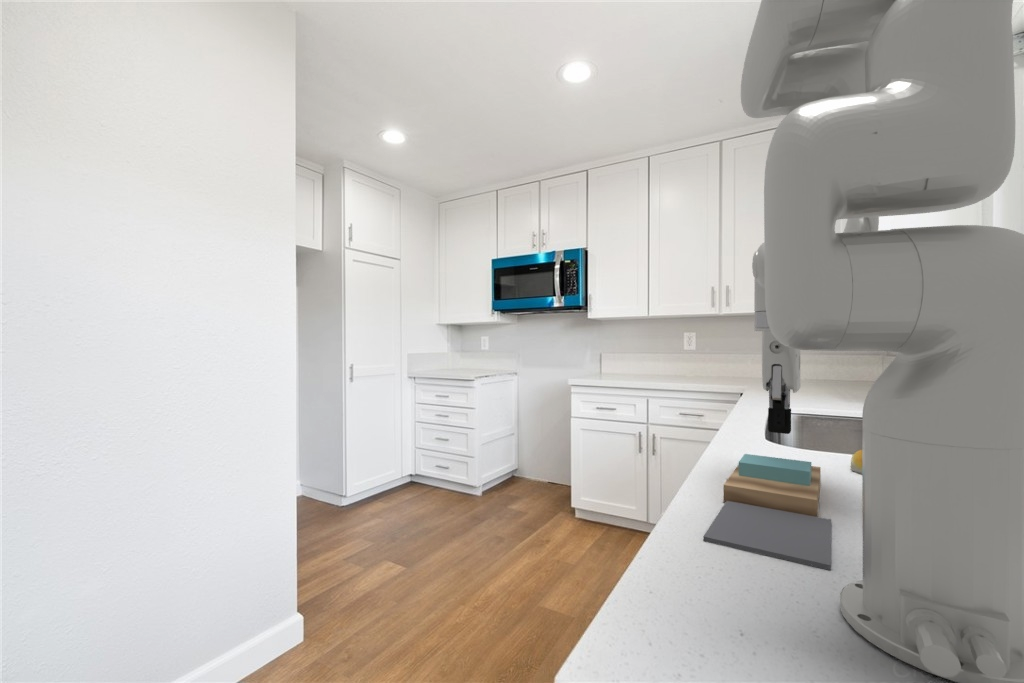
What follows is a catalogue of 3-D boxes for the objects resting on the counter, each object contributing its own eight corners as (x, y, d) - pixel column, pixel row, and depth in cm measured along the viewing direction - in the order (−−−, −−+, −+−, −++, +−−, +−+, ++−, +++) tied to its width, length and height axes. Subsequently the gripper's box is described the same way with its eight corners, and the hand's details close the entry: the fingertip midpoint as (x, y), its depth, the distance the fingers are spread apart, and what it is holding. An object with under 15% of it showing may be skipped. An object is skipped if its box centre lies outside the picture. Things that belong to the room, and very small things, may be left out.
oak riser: (817, 519, 59) (817, 499, 59) (723, 502, 65) (723, 484, 65) (820, 482, 73) (820, 467, 73) (744, 471, 80) (744, 457, 80)
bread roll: (919, 485, 73) (919, 460, 73) (849, 475, 78) (849, 451, 78) (916, 473, 79) (916, 449, 79) (851, 464, 85) (851, 442, 85)
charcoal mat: (830, 570, 46) (830, 565, 46) (703, 540, 53) (703, 536, 53) (831, 523, 57) (831, 519, 57) (726, 504, 64) (726, 500, 64)
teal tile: (809, 486, 64) (809, 471, 64) (738, 475, 69) (738, 462, 69) (811, 475, 69) (811, 462, 69) (744, 466, 74) (744, 453, 74)
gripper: (804, 321, 68) (803, 444, 69) (808, 322, 81) (808, 426, 81) (747, 322, 73) (747, 438, 73) (760, 322, 85) (760, 422, 85)
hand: (779, 431), depth 77 cm, fingers closed
